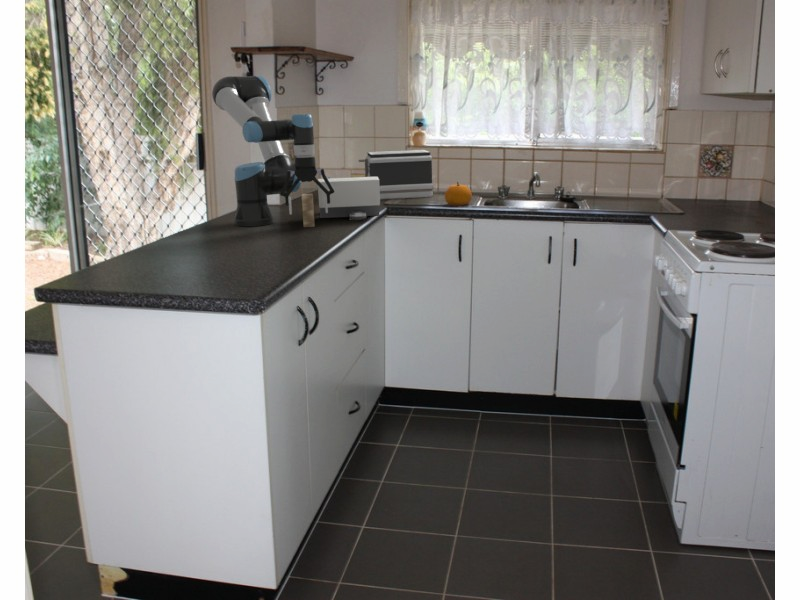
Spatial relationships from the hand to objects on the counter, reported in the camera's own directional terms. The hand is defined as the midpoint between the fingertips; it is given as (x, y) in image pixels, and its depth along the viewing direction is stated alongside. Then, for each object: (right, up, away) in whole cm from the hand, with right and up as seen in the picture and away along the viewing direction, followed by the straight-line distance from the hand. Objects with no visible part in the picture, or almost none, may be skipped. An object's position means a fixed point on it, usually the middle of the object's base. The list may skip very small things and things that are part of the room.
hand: (308, 213), depth 285 cm
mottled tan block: (-1, -3, +7) cm, 8 cm away
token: (+18, 0, +16) cm, 24 cm away
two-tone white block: (+15, 0, +17) cm, 23 cm away
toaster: (+33, +17, +78) cm, 86 cm away
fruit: (+60, +9, +44) cm, 75 cm away
